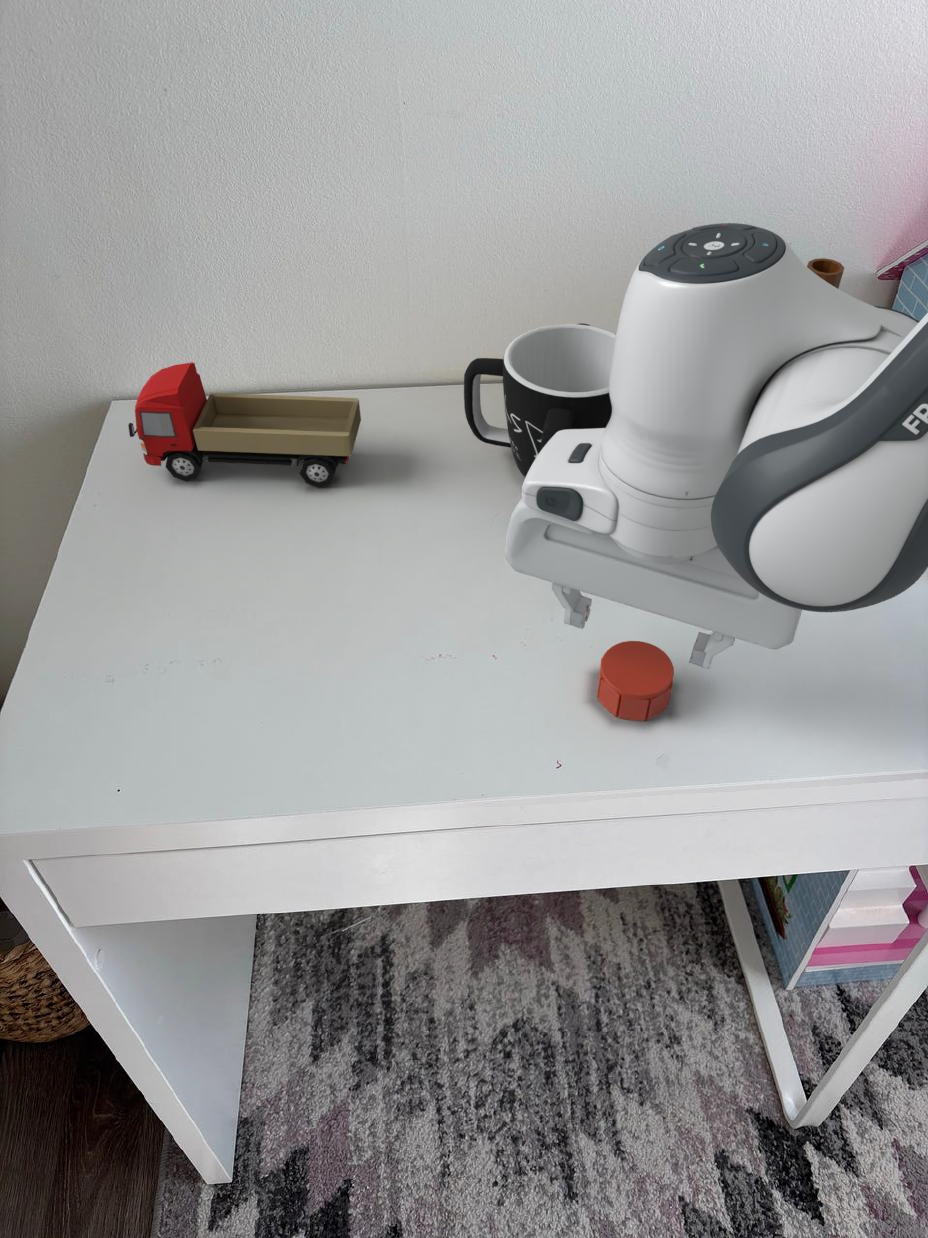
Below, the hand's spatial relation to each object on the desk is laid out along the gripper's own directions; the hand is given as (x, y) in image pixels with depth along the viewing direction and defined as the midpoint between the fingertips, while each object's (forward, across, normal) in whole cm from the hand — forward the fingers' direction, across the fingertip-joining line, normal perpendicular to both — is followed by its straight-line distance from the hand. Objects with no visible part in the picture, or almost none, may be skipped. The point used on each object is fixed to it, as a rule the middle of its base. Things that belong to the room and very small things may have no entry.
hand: (637, 639), depth 70 cm
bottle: (+6, -4, -42) cm, 42 cm away
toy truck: (+6, +42, -13) cm, 44 cm away
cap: (+6, 0, 0) cm, 6 cm away
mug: (+6, +14, -25) cm, 29 cm away
